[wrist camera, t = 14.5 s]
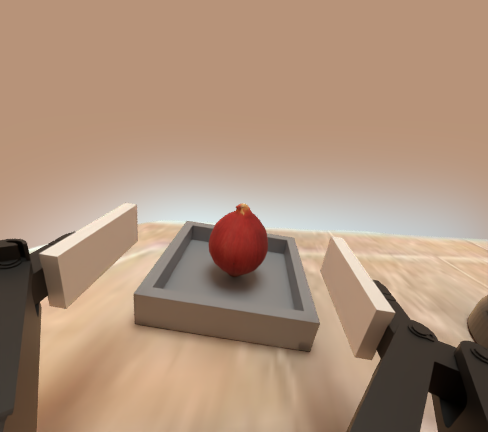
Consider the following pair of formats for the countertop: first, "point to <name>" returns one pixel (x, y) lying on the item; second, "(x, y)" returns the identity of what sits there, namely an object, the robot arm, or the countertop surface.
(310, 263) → the countertop surface
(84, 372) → the countertop surface
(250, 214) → the onion
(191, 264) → the bin
